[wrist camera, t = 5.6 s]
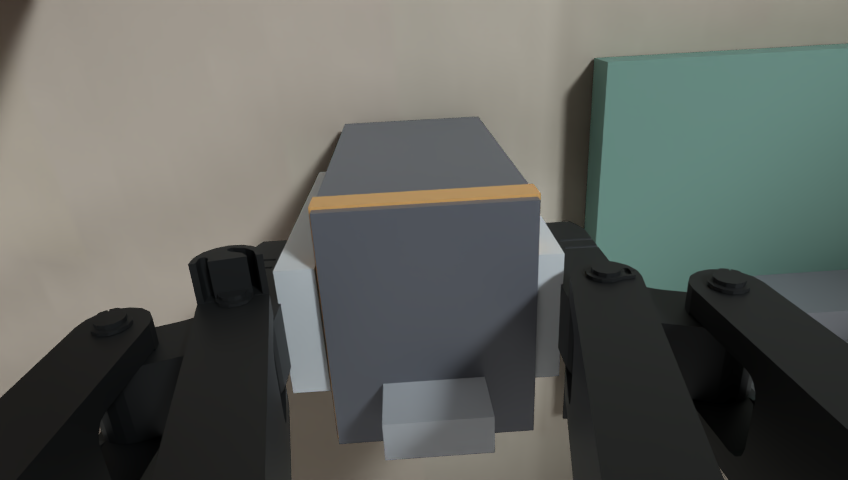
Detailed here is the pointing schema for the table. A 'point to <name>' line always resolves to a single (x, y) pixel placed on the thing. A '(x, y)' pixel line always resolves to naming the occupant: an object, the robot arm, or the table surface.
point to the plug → (427, 286)
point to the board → (726, 170)
